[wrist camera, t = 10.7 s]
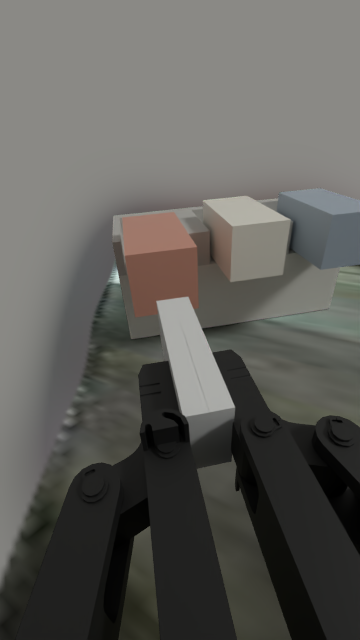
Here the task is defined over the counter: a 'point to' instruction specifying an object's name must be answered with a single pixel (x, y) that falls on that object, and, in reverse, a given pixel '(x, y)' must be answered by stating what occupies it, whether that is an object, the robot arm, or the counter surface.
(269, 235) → the ivory key
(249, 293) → the grey slotted rack
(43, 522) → the counter surface
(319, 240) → the blue-grey rectangular block
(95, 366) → the counter surface
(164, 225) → the terracotta key
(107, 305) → the counter surface
